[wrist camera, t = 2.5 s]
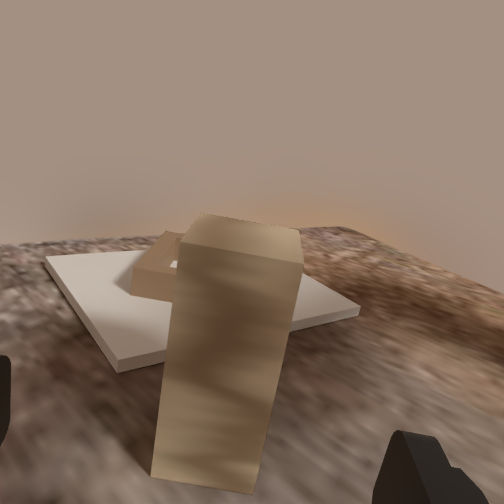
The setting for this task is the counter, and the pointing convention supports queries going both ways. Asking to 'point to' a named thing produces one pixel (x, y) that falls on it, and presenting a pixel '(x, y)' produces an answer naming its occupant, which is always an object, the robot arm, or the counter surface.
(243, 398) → the maple peg
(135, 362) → the socket board
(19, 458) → the counter surface
